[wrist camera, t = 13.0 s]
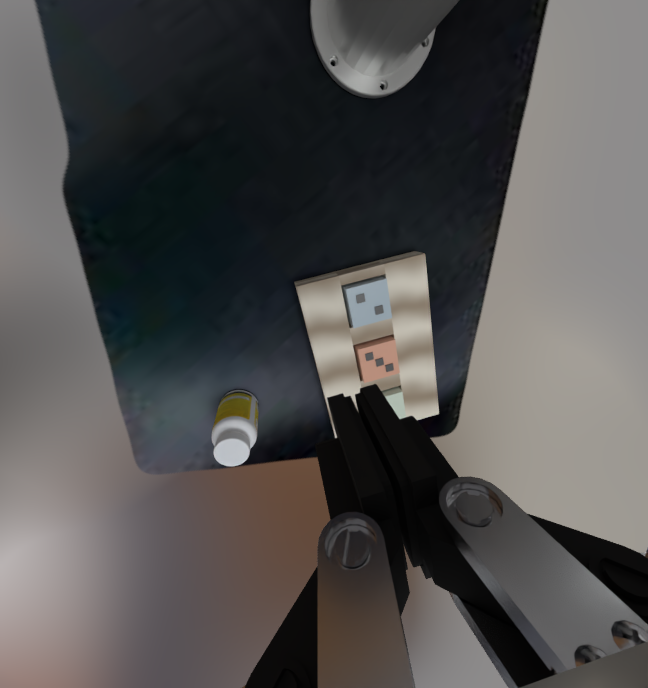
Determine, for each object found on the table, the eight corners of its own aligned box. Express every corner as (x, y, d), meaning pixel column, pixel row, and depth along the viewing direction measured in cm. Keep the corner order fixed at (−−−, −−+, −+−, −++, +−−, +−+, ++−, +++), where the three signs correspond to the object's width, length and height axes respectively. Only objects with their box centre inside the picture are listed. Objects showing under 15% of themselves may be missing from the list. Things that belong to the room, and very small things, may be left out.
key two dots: (340, 284, 39) (346, 289, 36) (378, 274, 39) (387, 278, 37) (347, 321, 41) (353, 328, 38) (383, 311, 41) (392, 318, 39)
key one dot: (361, 390, 46) (368, 402, 43) (394, 381, 46) (403, 392, 43) (367, 418, 47) (373, 431, 45) (398, 408, 48) (407, 421, 45)
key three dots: (352, 341, 42) (358, 350, 39) (386, 331, 43) (395, 340, 40) (358, 373, 44) (364, 383, 41) (391, 363, 45) (400, 373, 42)
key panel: (294, 282, 39) (296, 286, 36) (414, 251, 40) (425, 253, 38) (333, 431, 49) (337, 443, 46) (429, 403, 50) (438, 413, 47)
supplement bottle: (211, 402, 43) (196, 449, 35) (243, 381, 43) (236, 424, 34) (235, 427, 46) (227, 478, 37) (266, 408, 45) (265, 455, 36)
